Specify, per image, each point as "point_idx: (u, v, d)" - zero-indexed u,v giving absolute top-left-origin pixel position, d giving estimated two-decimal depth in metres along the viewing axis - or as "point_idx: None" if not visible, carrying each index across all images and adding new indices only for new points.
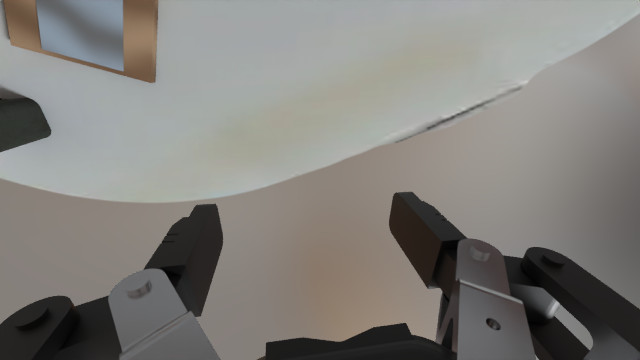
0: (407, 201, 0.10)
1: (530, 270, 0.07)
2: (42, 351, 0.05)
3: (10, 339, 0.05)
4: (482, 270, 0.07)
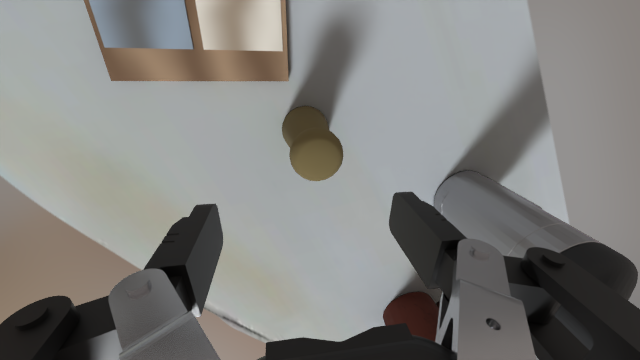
0: (407, 201, 0.10)
1: (530, 270, 0.07)
2: (42, 351, 0.05)
3: (10, 339, 0.05)
4: (482, 270, 0.07)
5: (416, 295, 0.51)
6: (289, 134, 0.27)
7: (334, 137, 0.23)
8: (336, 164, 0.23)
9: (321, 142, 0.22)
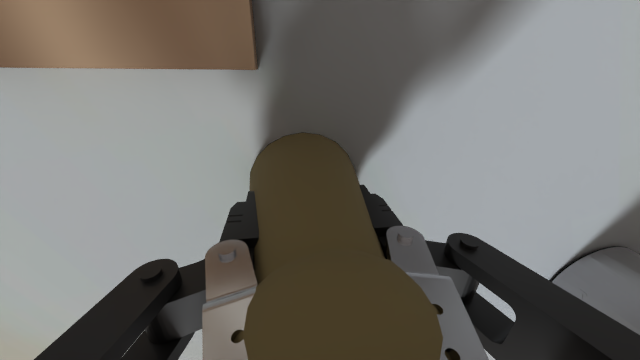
0: None
1: (454, 258, 0.07)
2: (151, 306, 0.06)
3: (135, 287, 0.06)
4: (400, 252, 0.07)
5: None
6: None
7: (434, 328, 0.04)
8: None
9: None
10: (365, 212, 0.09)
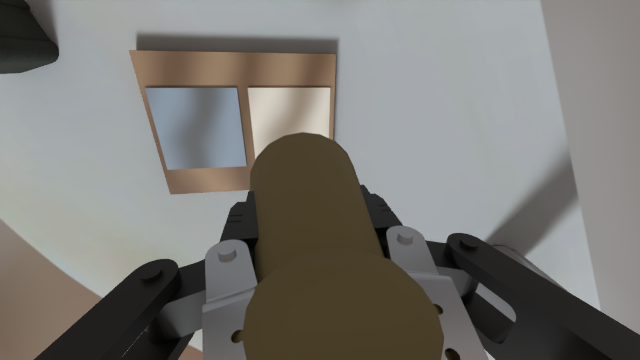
0: None
1: (454, 258, 0.07)
2: (151, 306, 0.06)
3: (135, 287, 0.06)
4: (400, 252, 0.07)
5: None
6: None
7: (434, 327, 0.04)
8: None
9: None
10: (365, 211, 0.09)
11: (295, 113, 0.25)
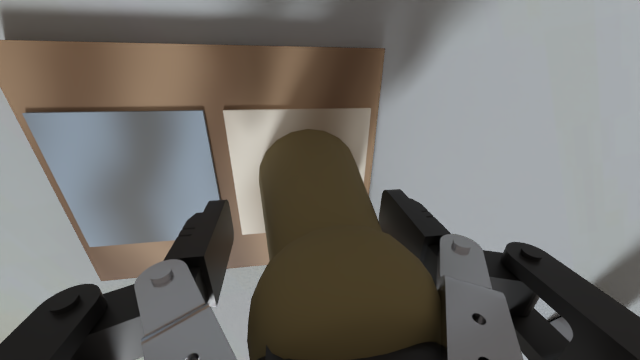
0: (395, 198, 0.10)
1: (510, 265, 0.07)
2: (72, 336, 0.05)
3: (45, 322, 0.05)
4: (461, 264, 0.07)
5: None
6: (266, 209, 0.10)
7: (423, 282, 0.06)
8: None
9: (376, 330, 0.05)
10: (367, 198, 0.10)
11: None
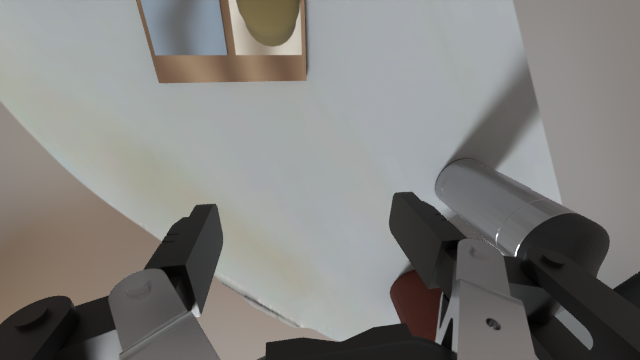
0: (407, 201, 0.10)
1: (530, 270, 0.07)
2: (42, 351, 0.05)
3: (10, 339, 0.05)
4: (482, 270, 0.07)
5: None
6: None
7: None
8: (290, 5, 0.19)
9: None
10: None
11: None
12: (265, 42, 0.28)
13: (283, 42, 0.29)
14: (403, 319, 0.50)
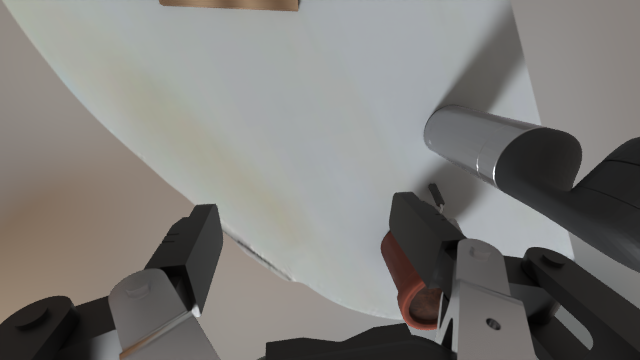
0: (407, 201, 0.10)
1: (530, 270, 0.07)
2: (42, 351, 0.05)
3: (10, 339, 0.05)
4: (482, 270, 0.07)
5: None
6: None
7: None
8: None
9: None
10: None
11: None
12: None
13: None
14: (392, 267, 0.51)
